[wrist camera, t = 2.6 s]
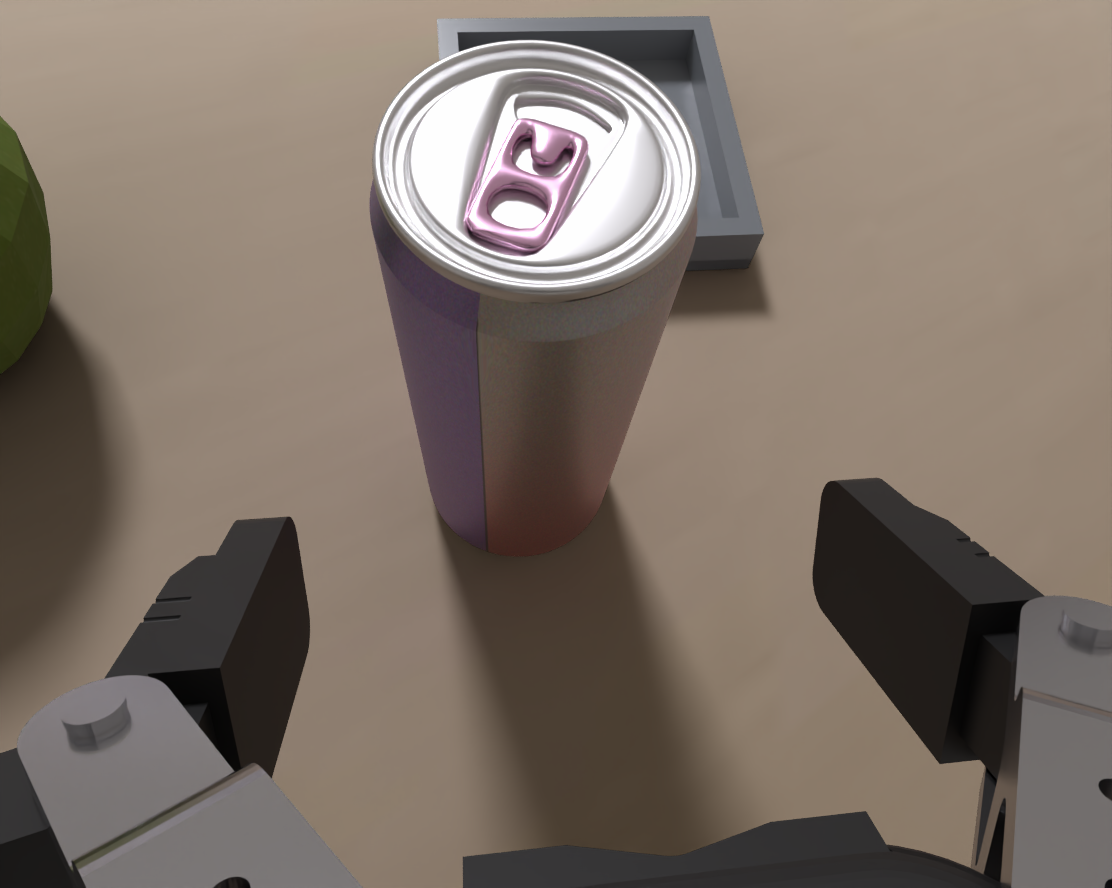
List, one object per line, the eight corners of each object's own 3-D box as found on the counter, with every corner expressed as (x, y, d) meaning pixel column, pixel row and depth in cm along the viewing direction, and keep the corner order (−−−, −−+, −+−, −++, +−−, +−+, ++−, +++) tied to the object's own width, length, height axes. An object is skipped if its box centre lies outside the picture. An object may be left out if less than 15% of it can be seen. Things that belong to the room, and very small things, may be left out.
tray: (453, 280, 30) (450, 245, 28) (440, 61, 35) (437, 18, 33) (747, 268, 31) (764, 233, 29) (697, 57, 36) (708, 16, 34)
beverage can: (401, 526, 26) (295, 232, 12) (468, 378, 28) (442, -6, 15) (572, 588, 26) (658, 353, 12) (625, 432, 28) (748, 86, 14)
